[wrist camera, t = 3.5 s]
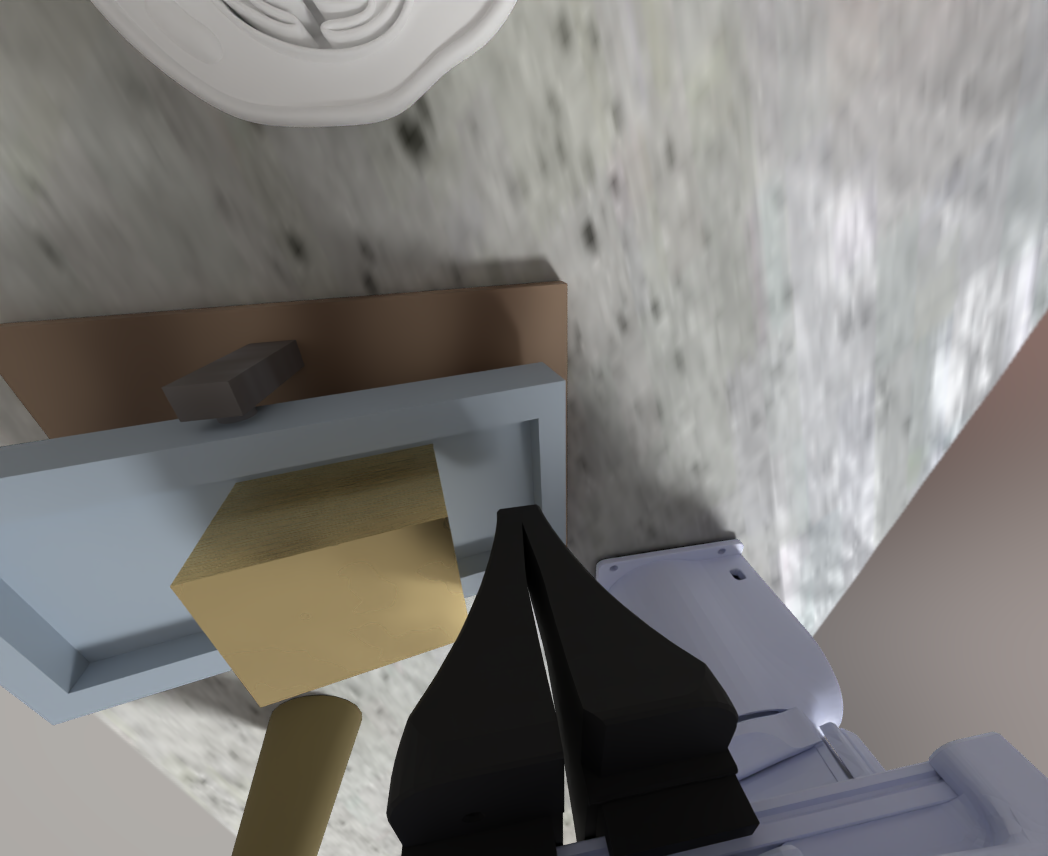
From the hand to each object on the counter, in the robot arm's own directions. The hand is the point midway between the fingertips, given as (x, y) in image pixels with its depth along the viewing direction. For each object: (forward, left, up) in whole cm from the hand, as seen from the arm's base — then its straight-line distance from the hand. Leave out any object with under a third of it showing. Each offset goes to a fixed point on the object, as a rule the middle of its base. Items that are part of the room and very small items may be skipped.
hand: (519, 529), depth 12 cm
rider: (+6, 0, -2) cm, 6 cm away
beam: (+7, 0, -3) cm, 8 cm away
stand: (+8, 0, -6) cm, 10 cm away
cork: (+15, +21, -6) cm, 27 cm away
